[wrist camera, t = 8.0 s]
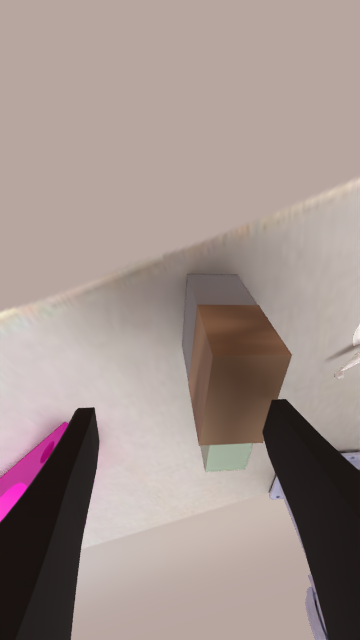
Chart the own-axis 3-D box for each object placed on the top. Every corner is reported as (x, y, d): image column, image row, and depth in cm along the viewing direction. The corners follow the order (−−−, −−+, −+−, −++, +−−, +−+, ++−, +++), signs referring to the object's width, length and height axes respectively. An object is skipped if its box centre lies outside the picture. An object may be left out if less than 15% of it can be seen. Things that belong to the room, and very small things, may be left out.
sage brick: (242, 380, 26) (259, 422, 22) (232, 425, 29) (245, 469, 25) (203, 381, 26) (213, 424, 22) (197, 427, 29) (205, 472, 25)
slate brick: (237, 274, 20) (258, 305, 17) (225, 344, 24) (240, 384, 20) (187, 273, 20) (197, 305, 16) (182, 345, 23) (189, 385, 19)
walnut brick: (258, 305, 17) (291, 355, 13) (240, 383, 20) (262, 442, 16) (197, 304, 16) (213, 355, 12) (188, 384, 19) (199, 445, 16)
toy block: (33, 512, 34) (7, 598, 27) (-21, 494, 31) (-64, 586, 25) (119, 447, 29) (112, 533, 23) (65, 420, 26) (40, 509, 20)
